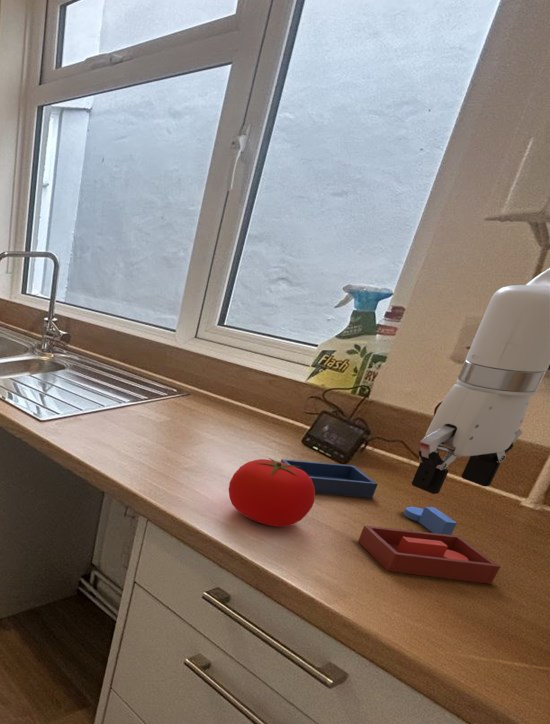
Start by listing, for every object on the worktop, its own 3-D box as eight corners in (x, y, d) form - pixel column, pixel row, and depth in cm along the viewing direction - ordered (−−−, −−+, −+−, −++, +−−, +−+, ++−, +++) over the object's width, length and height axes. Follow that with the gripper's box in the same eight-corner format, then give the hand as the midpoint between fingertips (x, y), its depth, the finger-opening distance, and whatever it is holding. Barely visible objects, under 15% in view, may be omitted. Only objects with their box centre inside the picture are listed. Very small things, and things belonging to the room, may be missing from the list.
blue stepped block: (456, 539, 84) (464, 523, 83) (432, 537, 84) (439, 521, 83) (420, 513, 91) (427, 498, 90) (398, 511, 92) (405, 496, 91)
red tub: (451, 552, 81) (459, 535, 80) (491, 584, 74) (500, 566, 73) (357, 541, 84) (364, 525, 82) (388, 571, 77) (395, 554, 76)
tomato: (312, 519, 90) (332, 464, 86) (289, 546, 83) (310, 487, 79) (238, 494, 98) (253, 442, 94) (211, 516, 91) (226, 462, 87)
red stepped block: (404, 562, 78) (412, 545, 77) (391, 549, 81) (398, 533, 80) (471, 570, 76) (480, 553, 75) (455, 557, 79) (463, 540, 78)
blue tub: (348, 479, 103) (353, 465, 102) (372, 498, 96) (378, 483, 95) (277, 472, 106) (281, 459, 104) (295, 490, 99) (299, 476, 98)
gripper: (510, 366, 78) (463, 468, 84) (418, 374, 75) (377, 480, 81) (582, 380, 71) (525, 491, 78) (485, 390, 68) (433, 505, 74)
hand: (449, 485), depth 79 cm, fingers open, 9 cm apart
